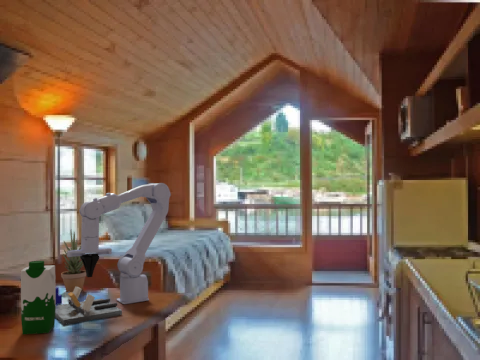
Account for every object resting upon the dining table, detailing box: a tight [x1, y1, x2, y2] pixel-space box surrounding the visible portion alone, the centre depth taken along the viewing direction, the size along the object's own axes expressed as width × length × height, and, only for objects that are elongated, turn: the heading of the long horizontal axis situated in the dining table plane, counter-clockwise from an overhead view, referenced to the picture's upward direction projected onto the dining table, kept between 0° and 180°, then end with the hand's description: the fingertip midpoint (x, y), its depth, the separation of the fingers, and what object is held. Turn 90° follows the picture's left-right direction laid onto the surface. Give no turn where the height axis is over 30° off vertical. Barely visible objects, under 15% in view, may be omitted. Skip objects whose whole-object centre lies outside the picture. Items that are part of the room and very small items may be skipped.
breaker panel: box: [55, 298, 123, 326], centre depth 152 cm, size 18×20×3 cm
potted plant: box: [60, 230, 87, 293], centre depth 184 cm, size 10×10×25 cm
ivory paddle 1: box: [72, 286, 83, 299], centre depth 157 cm, size 1×4×4 cm, turn 35°
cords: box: [92, 298, 118, 309], centre depth 155 cm, size 8×8×1 cm
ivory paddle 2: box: [82, 293, 96, 311], centre depth 145 cm, size 1×4×4 cm, turn 35°
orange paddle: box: [67, 292, 81, 307], centre depth 150 cm, size 1×4×4 cm, turn 35°
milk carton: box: [20, 260, 56, 335], centre depth 134 cm, size 9×9×20 cm
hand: (89, 276), depth 159 cm, fingers closed
